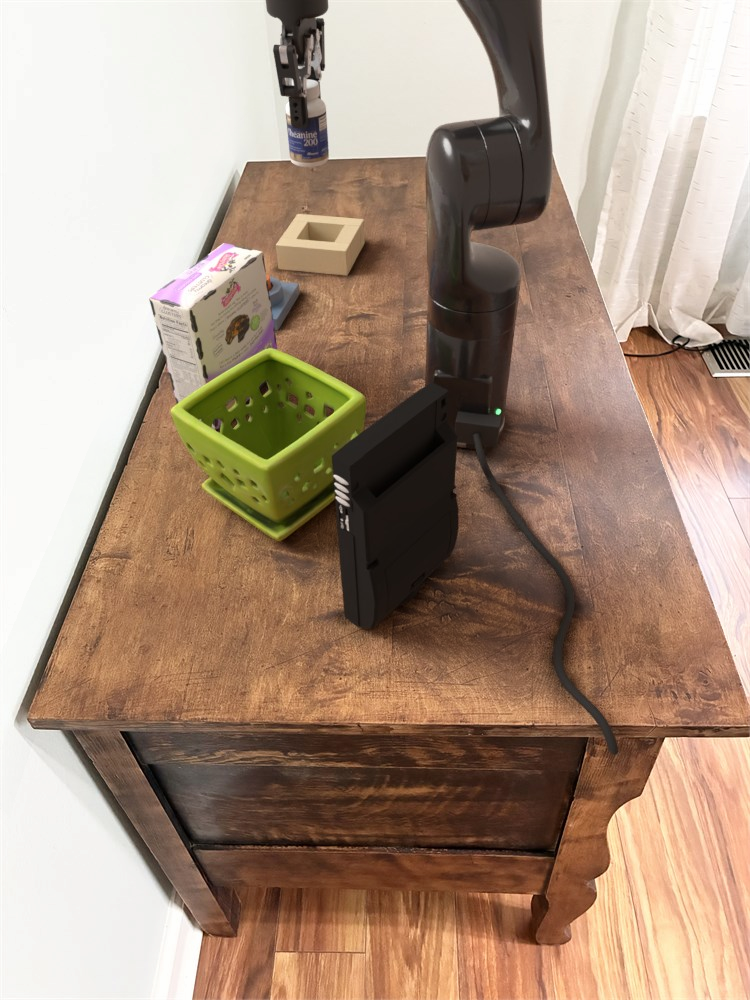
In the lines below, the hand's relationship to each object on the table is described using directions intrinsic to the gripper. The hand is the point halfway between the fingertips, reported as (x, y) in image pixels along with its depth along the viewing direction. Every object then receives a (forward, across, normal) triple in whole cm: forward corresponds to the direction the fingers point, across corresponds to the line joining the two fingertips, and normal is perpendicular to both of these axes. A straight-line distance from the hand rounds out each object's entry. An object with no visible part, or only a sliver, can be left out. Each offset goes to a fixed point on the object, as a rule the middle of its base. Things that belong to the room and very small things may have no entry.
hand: (306, 118), depth 100 cm
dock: (+22, -4, -1) cm, 22 cm away
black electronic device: (+21, +59, +25) cm, 68 cm away
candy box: (+22, +33, -2) cm, 39 cm away
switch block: (+22, +13, -5) cm, 26 cm away
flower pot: (+22, +49, +10) cm, 54 cm away
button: (+19, +13, -5) cm, 23 cm away
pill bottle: (+6, 0, 0) cm, 6 cm away
